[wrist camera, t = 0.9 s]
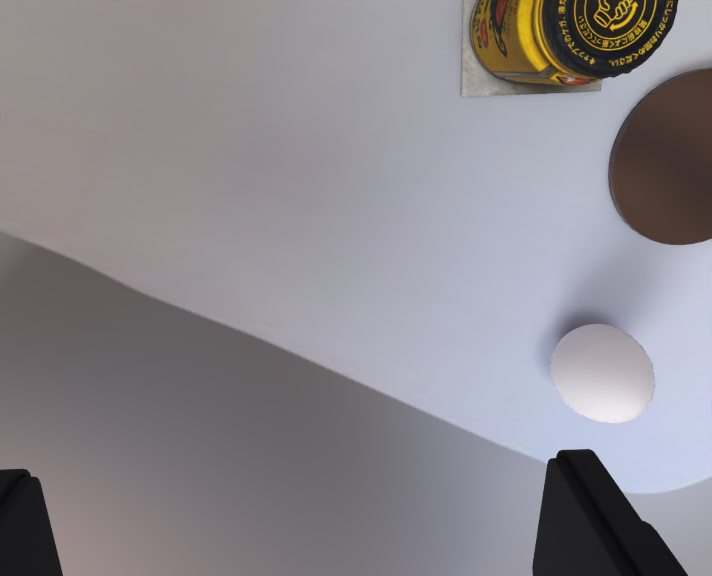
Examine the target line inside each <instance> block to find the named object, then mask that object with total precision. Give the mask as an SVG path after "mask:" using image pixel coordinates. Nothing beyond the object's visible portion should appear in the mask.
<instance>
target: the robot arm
mask: <svg viewBox="0 0 712 576" xmlns="http://www.w3.org/2000/svg"><path fill="white" fill-rule="evenodd" d="M0 576H63V574H62V570H61V565H60V561H59V557H58V553H57V549H56V545H55V541H54V537H53V533H52V528H51V524H50V520H49V516H48V512H47V508H46V504H45V500H44V496H43V492H42V488H41V483H40V481H39V479H38V478H37V477H31V475H30V473H29V472H28V471H27V470H26V469H6V470H0ZM533 576H688V575H687V573H686V572H685V570H684V569H683V568H682V566H681V565H680V564H679V562H678V561H677V559H676V558H675V556H674V555H673V554H672V552H671V551H670V549H669V548H668V547H667V545H666V544H665V542H664V541H663V539H662V538H661V537H660V535H659V534H658V533H657V531H656V530H655V529H654V528H653V527H652V526H651V525H650V524H649V523H647V522H645V521H642V520H641V519H640V517H639V516H638V514H637V513H636V511H635V510H634V509H633V507H632V506H631V504H630V503H629V501H628V500H627V498H626V497H625V496H624V494H623V493H622V491H621V490H620V488H619V487H618V485H617V484H616V483H615V481H614V480H613V478H612V477H611V475H610V474H609V473H608V471H607V470H606V468H605V467H604V465H603V464H602V463H601V461H600V460H599V458H598V457H597V455H596V454H595V453H594V452H593V451H592V450H590V449H580V450H561V451H559V452H558V454H557V456H556V458H551V459H549V461H548V464H547V471H546V478H545V484H544V491H543V499H542V505H541V511H540V519H539V525H538V532H537V539H536V546H535V552H534V559H533Z"/></svg>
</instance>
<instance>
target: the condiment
mask: <svg viewBox="0 0 712 576" xmlns="http://www.w3.org/2000/svg"><path fill="white" fill-rule="evenodd" d="M677 4H678V0H464V3H463V41H462V93H461V97H475V96H497V95H520V94H547V93H570V92H594V91H601V86H602V79H604V78H607V77H616V76H618V75H620V74H622V73H624V74H627V73H630V72H631V71H632V70H633V69H635V68H637V67H638V66H640V65H641V64H642V63H644V62H645V61H646V60H647V59H648V58H649V57H650V56H651V55H652V54H653V52H654V51H655V50H656V49H657V48H658V47H660V45H661V43H662V41H663V40H664V38H665V37H666V35H667V34H668V32H669V31H670V30H671V28H672V26H673V22H674V19H675V15H676V12H677Z"/></svg>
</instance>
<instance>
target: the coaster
mask: <svg viewBox="0 0 712 576" xmlns="http://www.w3.org/2000/svg"><path fill="white" fill-rule="evenodd" d="M609 187H610V192H611V197H612V199H613V202H614V205H615V207H616V209H617V211H618V213H619V214H620V216H621V217H622V218H623V220H624V221H625V222H626V223H627V224H628V225H629V226H630V227H631V228H632V229H633V230H635V231H636V232H638V233H639V234H641V235H642V236H644V237H646V238H649V239H651V240H653V241H656V242H659V243H664V244H670V245H686V244H694V243H698V242H703V241H706V240H709V239H712V69H701V70H696V71H691V72H687V73H685V74H682V75H679V76H677V77H674V78H672V79H671V80H669V81H667V82H665V83H663V84H662V85H660V86H659V87H657V88H656V89H654V90H653V91H652V92H651V93H649V94H648V95H647V96H646V97H645V98H644V99H643V100H642V101H641V102H640V103H639V104H638V105H637V106H636V107H635V108H634V110H633V111H632V112H631V114H630V115H629V116H628V118H627V119H626V121H625V122H624V124H623V126H622V127H621V129H620V131H619V133H618V136H617V138H616V140H615V143H614V146H613V149H612V152H611V157H610V163H609Z"/></svg>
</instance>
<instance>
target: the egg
mask: <svg viewBox="0 0 712 576" xmlns="http://www.w3.org/2000/svg"><path fill="white" fill-rule="evenodd" d="M551 376H552V379H553V383H554V386H555V388H556V390H557V392H558V393H559V395H560V396H561V397H562V399H563V400H564V401H565V402H566V403H567V404H568V405H569V406H570V407H571V408H572V409H573V410H575V411H576V412H578V413H579V414H581V415H583V416H585V417H587V418H590V419H593V420H596V421H599V422H605V423H620V422H626V421H629V420H631V419H634V418H636V417H638V416H639V415H640V414H642V413H643V412H644V411H645V410H646V408H647V407H648V406H649V404H650V402H651V400H652V398H653V393H654V389H655V376H654V371H653V365H652V362H651V360H650V358H649V357H648V355H647V353H646V351H645V350H644V348H643V347H642V346H641V345H640V344H639V343H638V342H637V341H636V340H635V339H634V338H633V337H632V336H631V335H629V334H628V333H626V332H624V331H622V330H620V329H618V328H616V327H613V326H609V325H605V324H590V325H584V326H581V327H578V328H576V329H574V330H572V331H570V332H569V333H568V334H566V335H565V336H564V337H563V338H562V339H561V340H560V341H559V343H558V344H557V346H556V347H555V349H554V352H553V354H552V359H551Z"/></svg>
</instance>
